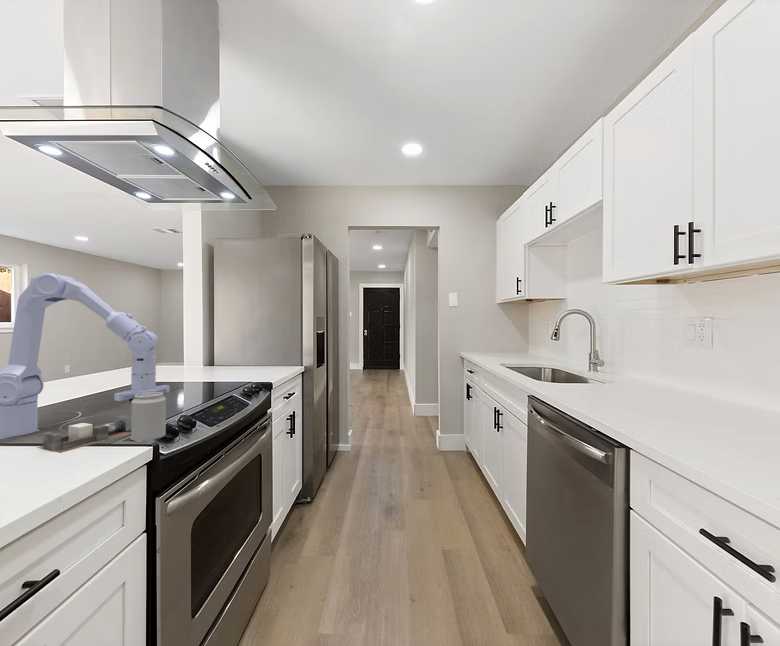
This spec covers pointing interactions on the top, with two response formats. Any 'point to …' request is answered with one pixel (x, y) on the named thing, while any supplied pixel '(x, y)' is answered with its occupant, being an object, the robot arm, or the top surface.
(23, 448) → the top surface
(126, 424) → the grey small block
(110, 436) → the bearing bench
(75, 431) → the spacer
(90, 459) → the top surface
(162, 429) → the can
